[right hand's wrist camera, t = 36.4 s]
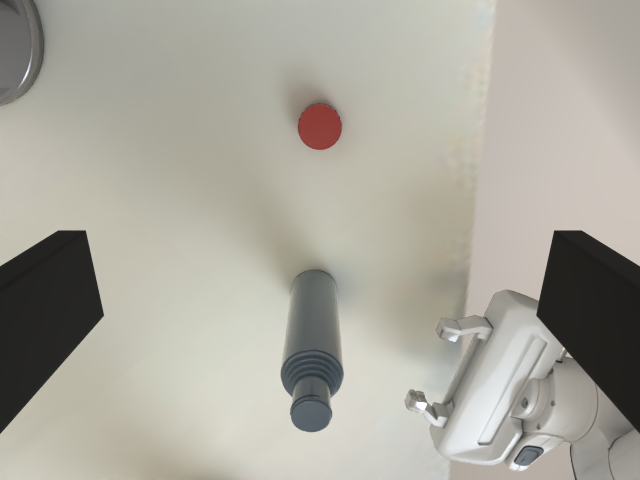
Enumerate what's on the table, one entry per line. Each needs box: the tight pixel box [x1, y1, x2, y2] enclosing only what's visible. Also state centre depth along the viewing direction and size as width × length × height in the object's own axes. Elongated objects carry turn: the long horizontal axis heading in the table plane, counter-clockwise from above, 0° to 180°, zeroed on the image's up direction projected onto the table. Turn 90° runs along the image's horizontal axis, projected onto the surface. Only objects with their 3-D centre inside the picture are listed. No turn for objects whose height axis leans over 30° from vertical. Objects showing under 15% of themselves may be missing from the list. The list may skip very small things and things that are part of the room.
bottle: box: [281, 270, 344, 432], centre depth 43 cm, size 6×6×21 cm
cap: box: [298, 103, 342, 150], centre depth 44 cm, size 4×4×3 cm
